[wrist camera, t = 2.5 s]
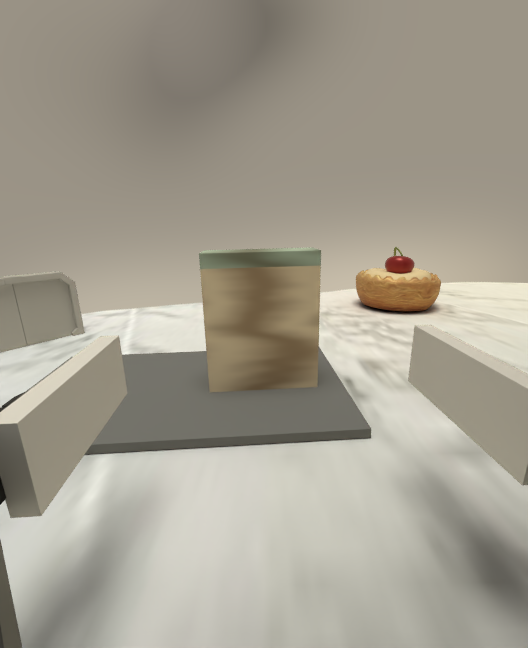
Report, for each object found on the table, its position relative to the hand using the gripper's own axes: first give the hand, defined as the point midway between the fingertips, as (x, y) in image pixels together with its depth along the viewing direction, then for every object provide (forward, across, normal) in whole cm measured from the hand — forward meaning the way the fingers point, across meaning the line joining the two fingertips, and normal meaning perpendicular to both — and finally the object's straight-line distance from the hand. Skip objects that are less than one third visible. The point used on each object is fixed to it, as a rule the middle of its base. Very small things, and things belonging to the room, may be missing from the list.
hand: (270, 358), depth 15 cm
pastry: (+35, +22, -6) cm, 42 cm away
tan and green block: (+10, 0, -6) cm, 11 cm away
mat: (+10, -6, -6) cm, 13 cm away
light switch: (+23, -26, -7) cm, 35 cm away
